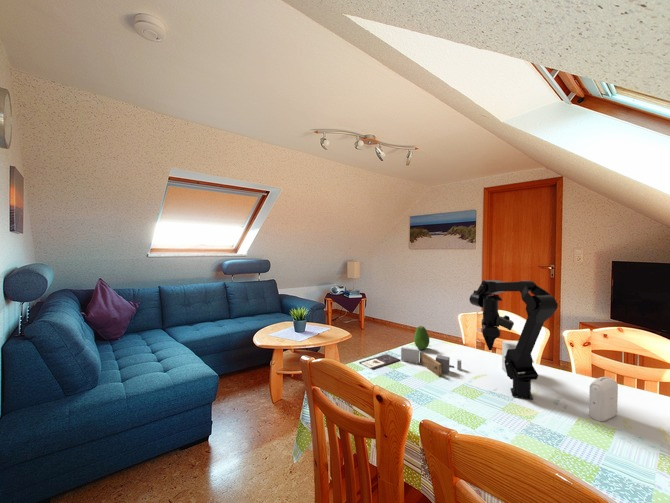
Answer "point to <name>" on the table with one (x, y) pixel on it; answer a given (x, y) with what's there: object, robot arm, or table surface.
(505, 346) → the supplement box
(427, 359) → the oak door
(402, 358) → the frame
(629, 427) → the table surface
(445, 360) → the block
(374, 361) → the chocolate bar
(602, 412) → the photo printer
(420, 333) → the fruit
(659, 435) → the table surface
